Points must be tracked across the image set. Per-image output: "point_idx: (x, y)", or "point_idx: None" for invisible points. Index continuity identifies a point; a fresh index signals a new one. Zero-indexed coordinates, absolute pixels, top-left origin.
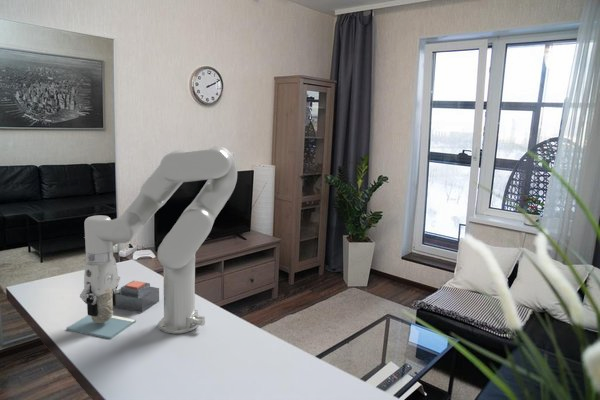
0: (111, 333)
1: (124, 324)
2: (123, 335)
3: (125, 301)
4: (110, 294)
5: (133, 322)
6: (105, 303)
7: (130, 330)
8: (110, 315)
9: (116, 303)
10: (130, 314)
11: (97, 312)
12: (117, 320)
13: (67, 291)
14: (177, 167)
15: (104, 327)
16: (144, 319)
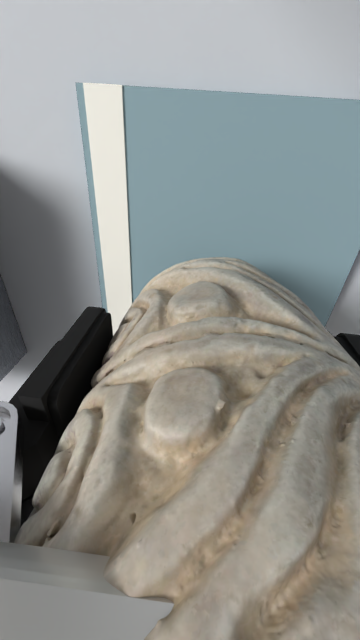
0: (351, 144)
1: (184, 135)
2: (346, 18)
3: None
4: (221, 455)
5: (114, 87)
6: (330, 365)
7: (240, 13)
8: (223, 261)
9: (2, 346)
10: (25, 213)
11: (356, 352)
12: (146, 233)
13: None
14: None
15: (257, 256)
16: (15, 22)
